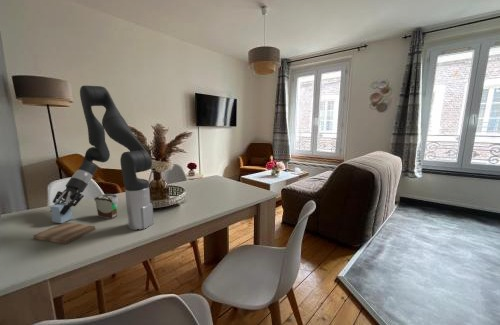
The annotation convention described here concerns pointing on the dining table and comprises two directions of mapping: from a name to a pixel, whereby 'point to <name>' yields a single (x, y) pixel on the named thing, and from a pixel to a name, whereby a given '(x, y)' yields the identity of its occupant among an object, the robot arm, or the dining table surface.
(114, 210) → the food container
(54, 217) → the slate block
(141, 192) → the robot arm
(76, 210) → the dining table surface
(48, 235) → the walnut board
